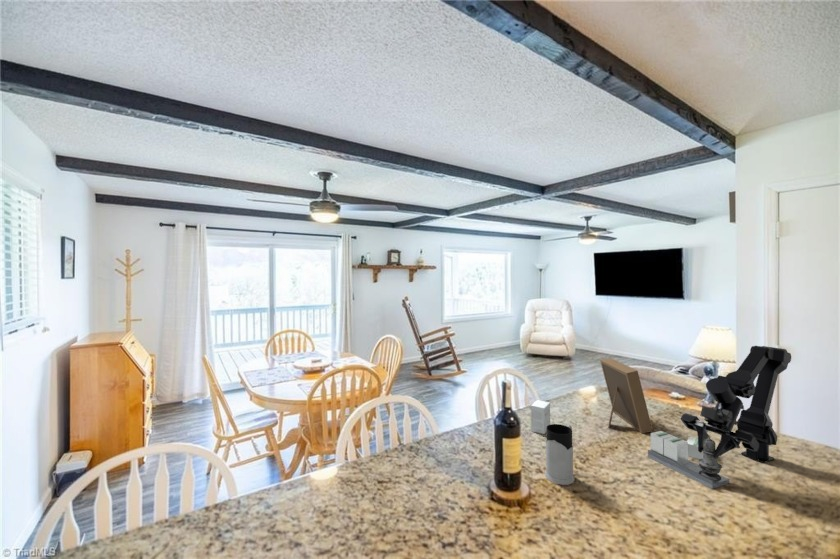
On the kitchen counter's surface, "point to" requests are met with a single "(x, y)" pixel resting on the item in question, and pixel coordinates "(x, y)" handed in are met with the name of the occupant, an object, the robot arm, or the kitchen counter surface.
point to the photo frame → (626, 394)
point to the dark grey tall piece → (709, 461)
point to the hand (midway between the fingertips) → (706, 454)
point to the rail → (679, 458)
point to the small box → (540, 416)
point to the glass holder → (559, 454)
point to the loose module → (694, 448)
